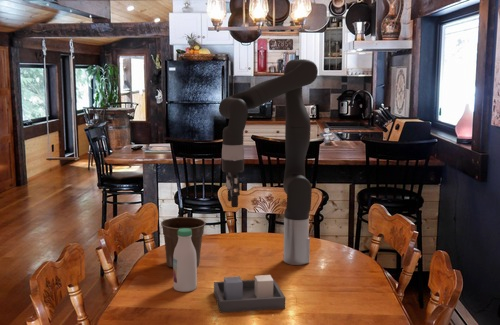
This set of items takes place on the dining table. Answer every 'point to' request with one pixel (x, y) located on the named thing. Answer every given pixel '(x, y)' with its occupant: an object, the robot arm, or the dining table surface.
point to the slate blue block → (233, 288)
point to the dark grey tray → (249, 298)
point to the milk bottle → (184, 262)
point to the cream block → (263, 286)
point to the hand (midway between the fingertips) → (232, 204)
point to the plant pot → (171, 235)
